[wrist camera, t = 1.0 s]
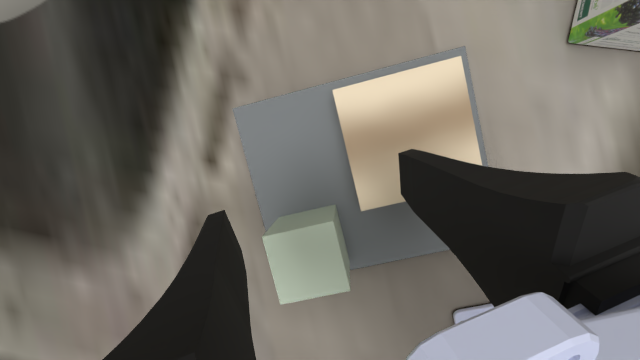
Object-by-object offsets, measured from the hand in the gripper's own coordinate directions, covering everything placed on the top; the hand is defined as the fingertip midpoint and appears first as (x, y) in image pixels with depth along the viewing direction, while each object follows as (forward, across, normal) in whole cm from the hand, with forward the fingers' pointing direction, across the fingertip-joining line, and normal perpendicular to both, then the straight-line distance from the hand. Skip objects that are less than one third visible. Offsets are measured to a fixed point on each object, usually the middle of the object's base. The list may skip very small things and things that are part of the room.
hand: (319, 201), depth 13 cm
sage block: (+8, 0, +9) cm, 13 cm away
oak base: (+9, -8, +3) cm, 13 cm away
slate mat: (+9, -6, +6) cm, 12 cm away
